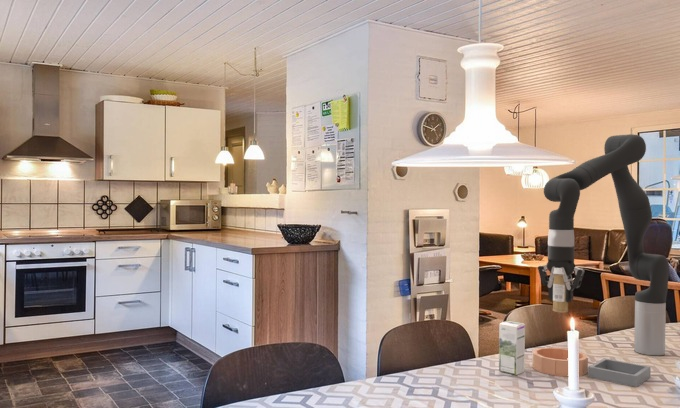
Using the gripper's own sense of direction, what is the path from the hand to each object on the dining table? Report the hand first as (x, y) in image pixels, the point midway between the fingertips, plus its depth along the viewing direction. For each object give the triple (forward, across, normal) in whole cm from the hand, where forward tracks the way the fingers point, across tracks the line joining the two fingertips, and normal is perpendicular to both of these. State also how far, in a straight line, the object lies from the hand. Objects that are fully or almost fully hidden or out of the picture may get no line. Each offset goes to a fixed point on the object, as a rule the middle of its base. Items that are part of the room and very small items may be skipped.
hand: (560, 300), depth 179 cm
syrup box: (+21, +9, +13) cm, 26 cm away
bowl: (+21, 0, 0) cm, 21 cm away
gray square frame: (+21, -16, -4) cm, 26 cm away
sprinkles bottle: (+3, 0, 0) cm, 3 cm away
